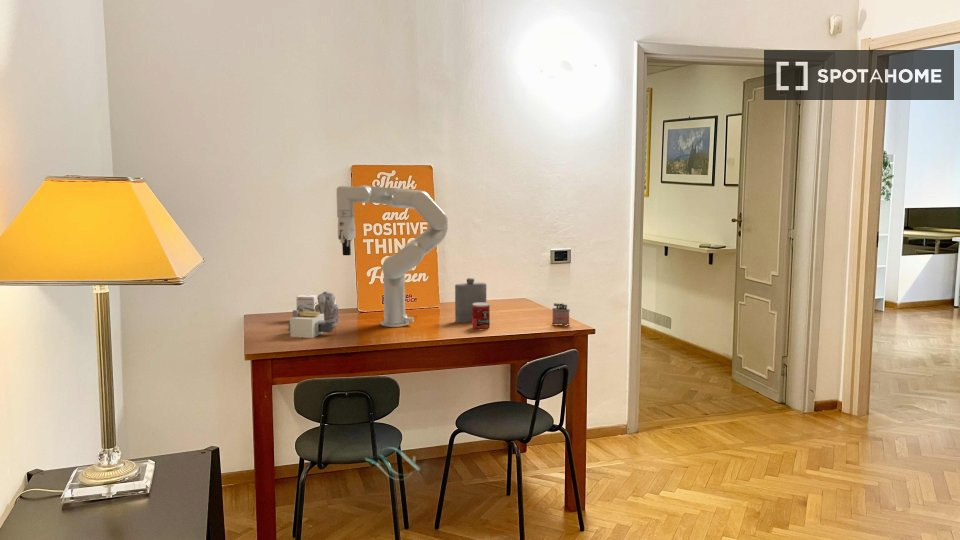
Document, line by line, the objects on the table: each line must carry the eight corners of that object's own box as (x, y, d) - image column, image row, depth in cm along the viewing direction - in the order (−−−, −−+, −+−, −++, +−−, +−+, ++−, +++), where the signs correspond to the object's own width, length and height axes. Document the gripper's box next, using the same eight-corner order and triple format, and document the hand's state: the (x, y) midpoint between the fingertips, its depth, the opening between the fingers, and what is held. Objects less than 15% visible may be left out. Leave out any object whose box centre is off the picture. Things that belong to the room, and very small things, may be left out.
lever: (320, 314, 320) (320, 311, 320) (315, 316, 316) (315, 313, 315) (299, 313, 322) (299, 310, 322) (294, 315, 318) (294, 311, 318)
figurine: (338, 322, 344) (337, 290, 342) (339, 328, 333) (338, 294, 331) (315, 323, 342) (314, 291, 340) (315, 329, 331) (314, 295, 329)
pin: (333, 331, 321) (333, 320, 320) (327, 334, 315) (327, 323, 314) (293, 329, 324) (293, 318, 324) (287, 332, 319) (286, 321, 318)
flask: (483, 318, 353) (483, 277, 350) (487, 321, 347) (487, 278, 345) (453, 320, 348) (453, 278, 345) (457, 323, 342) (456, 280, 340)
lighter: (570, 325, 339) (570, 303, 337) (568, 326, 336) (568, 304, 334) (553, 323, 342) (553, 302, 341) (551, 324, 339) (551, 303, 338)
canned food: (477, 330, 327) (477, 306, 326) (469, 327, 334) (469, 303, 333) (492, 328, 331) (492, 304, 329) (484, 325, 338) (484, 301, 336)
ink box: (296, 321, 347) (295, 296, 345) (300, 319, 352) (299, 294, 350) (314, 321, 346) (313, 296, 344) (317, 319, 351) (317, 295, 349)
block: (324, 331, 325) (323, 307, 323) (312, 338, 313) (311, 312, 312) (303, 330, 327) (302, 306, 325) (290, 336, 315) (289, 311, 314)
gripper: (347, 215, 323) (348, 257, 326) (359, 213, 338) (360, 253, 340) (330, 215, 325) (332, 256, 327) (344, 213, 339) (345, 253, 342)
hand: (346, 255), depth 334 cm, fingers closed
